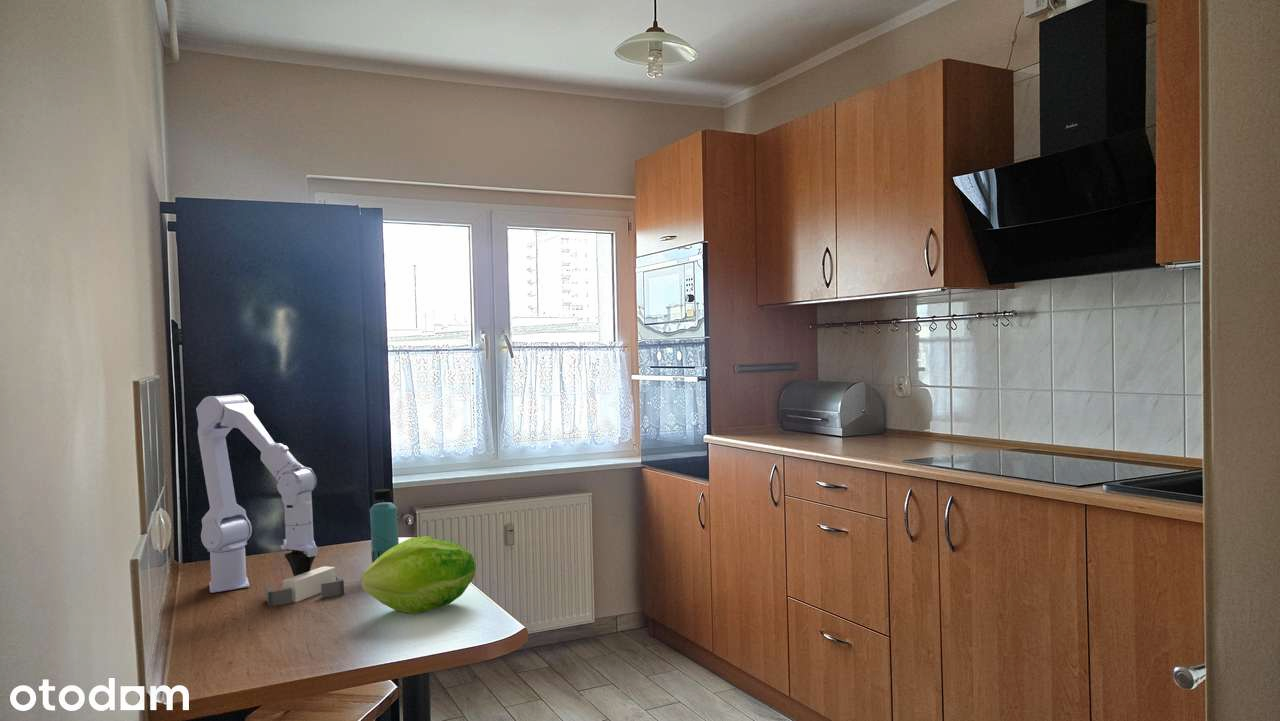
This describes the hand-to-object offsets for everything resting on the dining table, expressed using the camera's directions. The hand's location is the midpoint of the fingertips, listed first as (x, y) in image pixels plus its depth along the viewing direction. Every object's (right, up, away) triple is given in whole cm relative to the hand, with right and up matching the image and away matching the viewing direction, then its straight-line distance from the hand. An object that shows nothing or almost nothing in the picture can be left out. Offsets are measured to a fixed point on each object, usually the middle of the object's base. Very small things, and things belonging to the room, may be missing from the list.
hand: (301, 584), depth 185 cm
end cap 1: (-1, -2, -8) cm, 8 cm away
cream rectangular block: (+3, -2, -3) cm, 4 cm away
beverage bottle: (+15, -1, +12) cm, 19 cm away
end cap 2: (+7, -1, -3) cm, 8 cm away
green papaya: (+31, -1, -18) cm, 36 cm away
